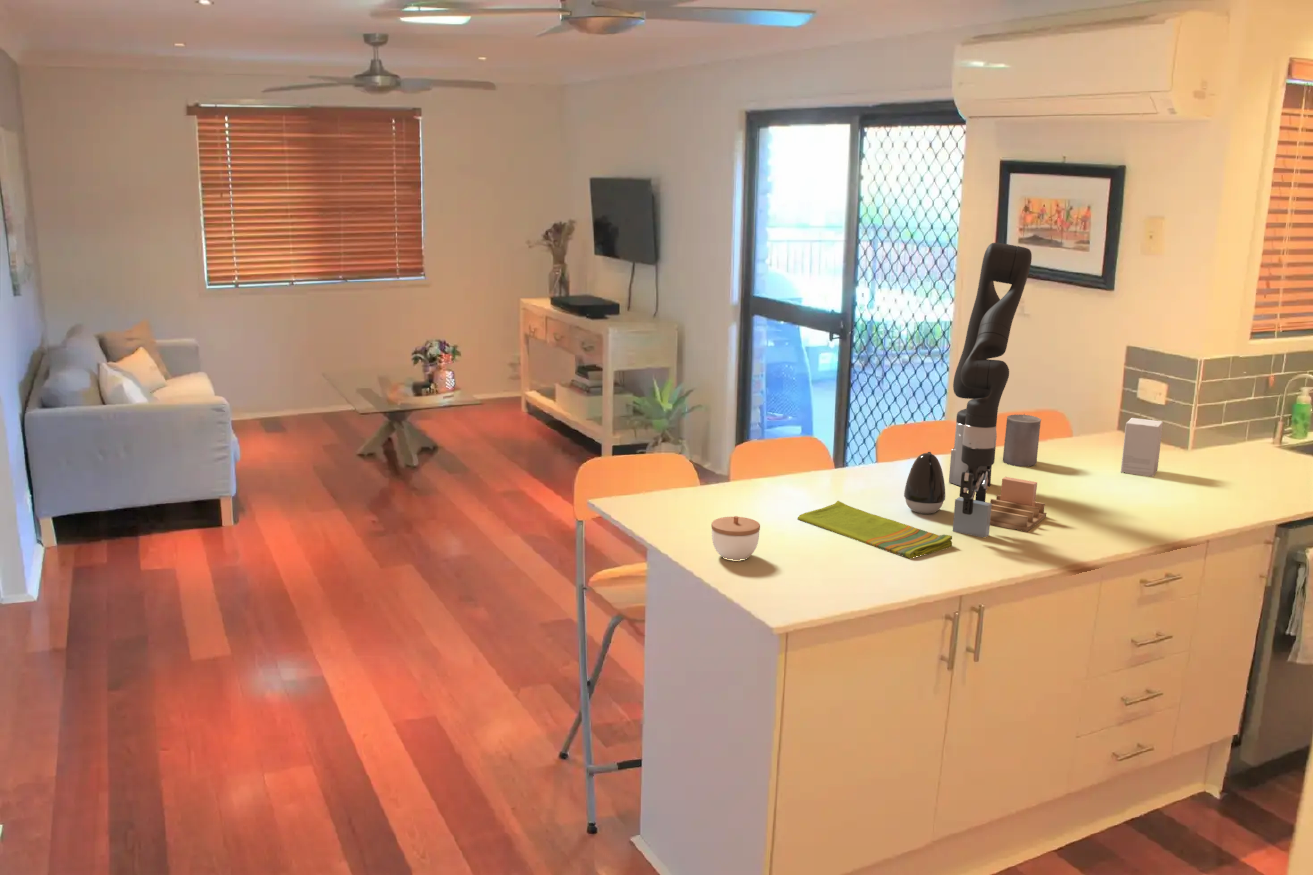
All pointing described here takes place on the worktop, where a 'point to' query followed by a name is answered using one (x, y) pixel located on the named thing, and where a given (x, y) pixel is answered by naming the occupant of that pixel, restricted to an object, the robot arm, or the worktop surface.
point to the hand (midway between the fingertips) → (973, 509)
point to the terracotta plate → (1018, 491)
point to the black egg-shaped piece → (925, 485)
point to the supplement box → (1141, 446)
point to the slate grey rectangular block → (972, 518)
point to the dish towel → (876, 530)
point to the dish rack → (1016, 514)
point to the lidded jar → (735, 536)
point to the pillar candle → (1021, 440)
